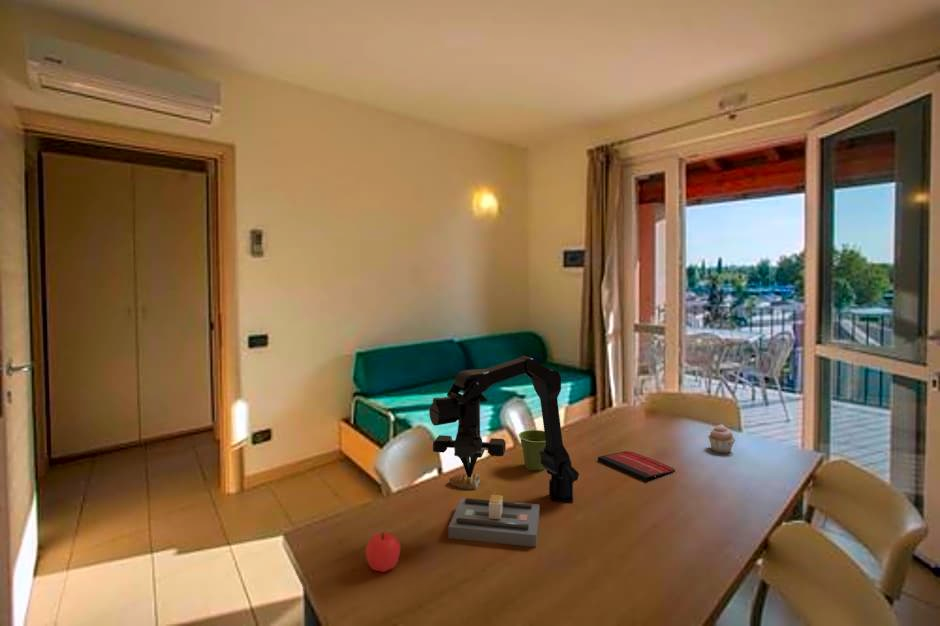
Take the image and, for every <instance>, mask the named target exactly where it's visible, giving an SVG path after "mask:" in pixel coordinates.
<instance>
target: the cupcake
mask: <svg viewBox="0 0 940 626" xmlns="http://www.w3.org/2000/svg"><path fill="white" fill-rule="evenodd" d="M707 438H708V440H709V444H710V448H711V450H712V451H714V452H716V453H721V454H729V453H730V452H731V451H732V447H733V445H734V444H735V442H736V439H735V437H734V435H733V433H732V431H731V430H730V429H729V428H728V427H726V426H725V425H724V424H722V423H720V424H719V425H716V426H714V428H713V429H712V430H711V431H710V434H709V435H707Z"/></svg>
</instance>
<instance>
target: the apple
mask: <svg viewBox="0 0 940 626" xmlns="http://www.w3.org/2000/svg"><path fill="white" fill-rule="evenodd" d="M365 547H366V548H365V552H364V553H365V556H366V560H367V564H368V566H369V567H370V568H371V569H372V570H373V571H377V572H382V573H384V572H388V571H390V570H392V569H393V568H395V567H396V565H397V563H398V561H399V559H400V558H399V557H400V553H401V543H400V540H399V539H398V538H397V537H396V536H395V535H394V534H393V533H392V532H387V531H381V532H378V533H375V534H373V535H372V537H371V538H370V539H369V541H368V543H367V545H366V546H365Z"/></svg>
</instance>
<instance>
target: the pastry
mask: <svg viewBox="0 0 940 626" xmlns="http://www.w3.org/2000/svg"><path fill="white" fill-rule="evenodd" d="M448 480H449V481H448V482H449V483H450V485H451V486H453V487H457V488H458V489H459V488H460V489H466V488H467V489H466V490H475V489H477V488H478V486H479V484H480V482H481V481H480V476H479V474H478V472H477V473H472V476H471V477H468V476H467V473H466V472H465V473H460V474H459V473H458V474H455V475H453V476H451V477H450V478H449V479H448Z"/></svg>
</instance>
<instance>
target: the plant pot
mask: <svg viewBox="0 0 940 626" xmlns="http://www.w3.org/2000/svg"><path fill="white" fill-rule="evenodd" d="M518 437H519V439H520V444H521V447H522V453H523V454H522V456H523V459H524V460H523V462H524V466H525V468H526V469H527V470H530V471H532V470H533V471H538V472H540V471H544V470H546V469H545V468H544V467H543V464H541V456H540V451H543V450H544V448H545V446H546V441H545V433H544V430H540V429H528V430H524V431H523V430H522V431H521V432H520V433H518ZM533 471H532V472H533Z"/></svg>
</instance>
